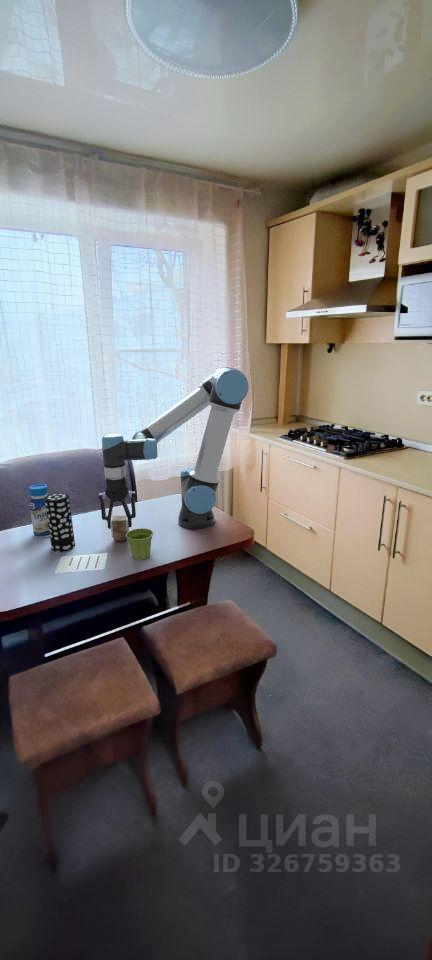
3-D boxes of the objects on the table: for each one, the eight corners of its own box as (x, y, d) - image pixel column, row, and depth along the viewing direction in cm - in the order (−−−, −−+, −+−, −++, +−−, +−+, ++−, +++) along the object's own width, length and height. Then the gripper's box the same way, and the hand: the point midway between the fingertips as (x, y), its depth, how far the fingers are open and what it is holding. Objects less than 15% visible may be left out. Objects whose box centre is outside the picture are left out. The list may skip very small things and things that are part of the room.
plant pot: (149, 563, 148) (147, 540, 146) (123, 561, 150) (121, 538, 148) (158, 551, 157) (156, 529, 155) (133, 549, 159) (132, 527, 156)
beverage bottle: (52, 528, 179) (46, 481, 173) (58, 534, 173) (52, 487, 167) (31, 533, 175) (23, 485, 169) (36, 540, 168) (28, 491, 162)
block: (128, 534, 168) (126, 515, 166) (127, 539, 164) (125, 520, 161) (114, 535, 168) (113, 516, 165) (113, 540, 163) (111, 521, 161)
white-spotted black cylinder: (47, 551, 158) (39, 500, 152) (58, 542, 166) (51, 492, 160) (69, 553, 157) (62, 501, 151) (79, 543, 165) (72, 493, 159)
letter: (107, 553, 156) (107, 553, 156) (104, 569, 145) (104, 569, 145) (61, 557, 154) (61, 556, 154) (54, 573, 143) (54, 573, 143)
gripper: (140, 472, 163) (144, 529, 170) (91, 475, 161) (97, 533, 168) (140, 478, 156) (144, 537, 163) (88, 481, 154) (95, 541, 161)
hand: (120, 535), depth 165 cm, fingers closed on block, 5 cm apart
